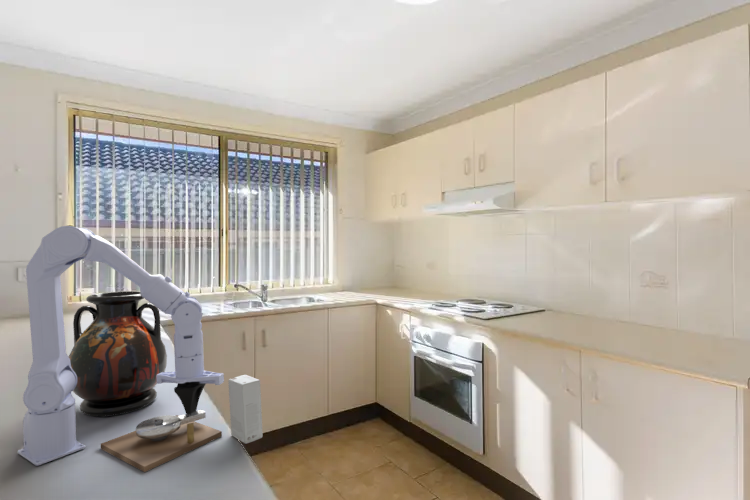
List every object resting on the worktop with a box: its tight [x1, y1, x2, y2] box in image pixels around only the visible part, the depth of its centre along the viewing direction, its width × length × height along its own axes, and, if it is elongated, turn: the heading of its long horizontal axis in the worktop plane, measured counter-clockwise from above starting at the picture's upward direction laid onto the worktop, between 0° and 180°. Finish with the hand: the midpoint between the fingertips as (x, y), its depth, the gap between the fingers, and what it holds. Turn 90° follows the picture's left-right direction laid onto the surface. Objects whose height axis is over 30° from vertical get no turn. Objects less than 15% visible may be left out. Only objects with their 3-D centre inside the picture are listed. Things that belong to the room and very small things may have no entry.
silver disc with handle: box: [135, 409, 207, 439], centre depth 86 cm, size 13×8×2 cm, turn 133°
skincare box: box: [227, 374, 264, 444], centre depth 86 cm, size 6×4×12 cm
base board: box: [100, 414, 223, 473], centre depth 84 cm, size 16×16×4 cm
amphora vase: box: [68, 290, 168, 418], centre depth 104 cm, size 22×22×28 cm
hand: (191, 415), depth 91 cm, fingers closed, pressing on silver disc with handle
